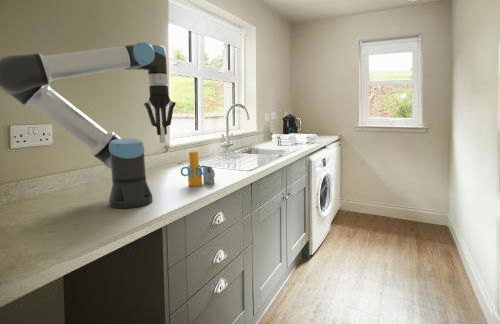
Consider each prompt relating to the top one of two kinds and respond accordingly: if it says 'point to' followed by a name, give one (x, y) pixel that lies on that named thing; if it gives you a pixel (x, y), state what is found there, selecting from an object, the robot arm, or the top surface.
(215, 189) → the top surface
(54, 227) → the top surface
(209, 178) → the grey stone
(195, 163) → the orange block with rings
